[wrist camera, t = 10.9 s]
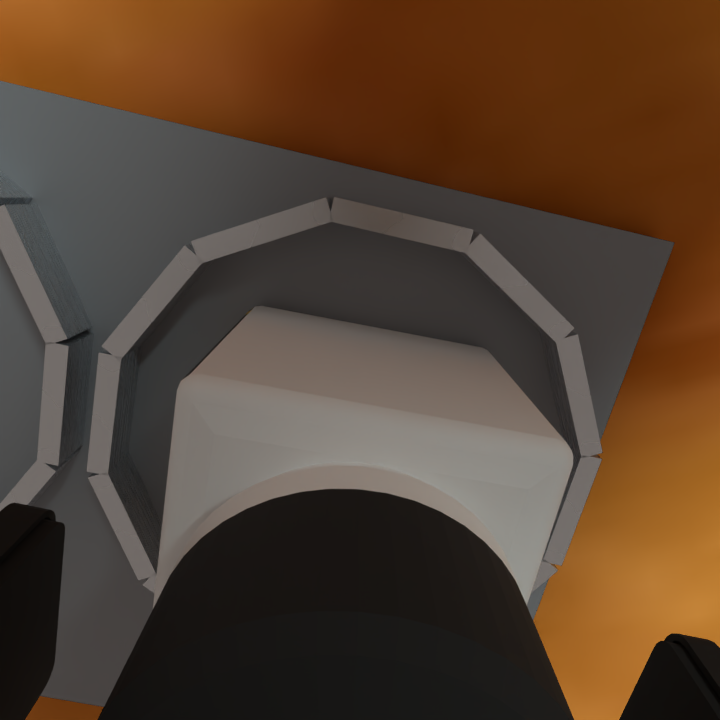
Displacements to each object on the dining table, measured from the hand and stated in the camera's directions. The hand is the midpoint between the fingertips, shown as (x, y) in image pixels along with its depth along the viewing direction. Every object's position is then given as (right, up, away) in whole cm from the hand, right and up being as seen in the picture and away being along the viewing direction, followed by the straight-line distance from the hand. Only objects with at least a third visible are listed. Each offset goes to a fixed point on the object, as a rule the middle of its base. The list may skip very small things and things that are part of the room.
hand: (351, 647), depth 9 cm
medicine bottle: (0, +2, +9) cm, 9 cm away
